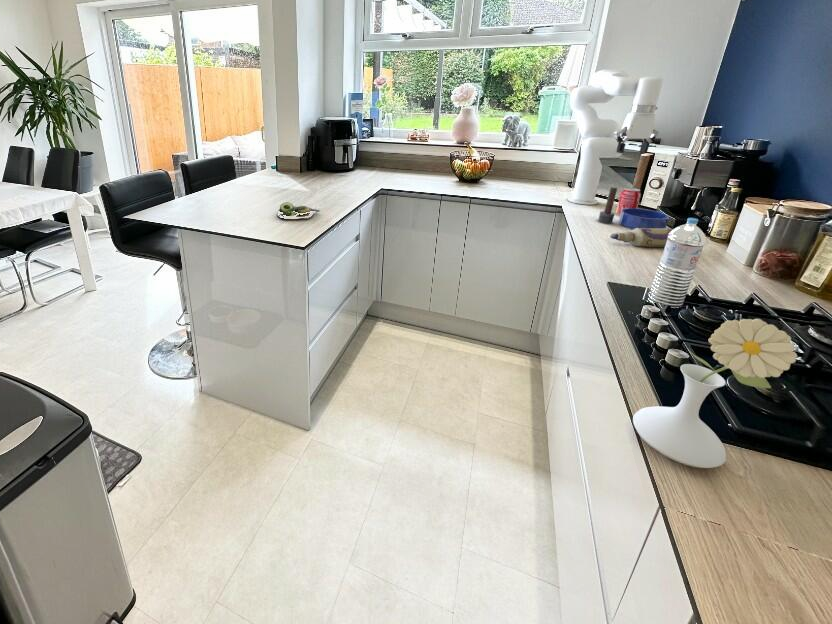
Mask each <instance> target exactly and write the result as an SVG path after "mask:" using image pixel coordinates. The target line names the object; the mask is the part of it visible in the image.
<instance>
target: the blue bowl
mask: <svg viewBox="0 0 832 624" xmlns="http://www.w3.org/2000/svg"><path fill="white" fill-rule="evenodd" d="M669 219H670V217H669V215H668V214H666V213H664V212H660V211H657V210H651V209H645V208H638V207H637V208H627V209H623V210H622V212H621V216H620V215H619V220H618V223H619V224H620V225H621V226H623V227H625V228H627V229H631V230H633V229H635V228H660V229H662V228H663V229H667V225H668V222H669Z"/></svg>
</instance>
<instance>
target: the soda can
mask: <svg viewBox="0 0 832 624" xmlns="http://www.w3.org/2000/svg"><path fill="white" fill-rule="evenodd" d="M641 195H642V193H641V189H639V188H635V187H624V188H623V190H622V191H621V192H620V196H619V199H618V202H617V206H616V212H615V213H616V214H617V215H619V217H620V216H621V212H622V210H623V209H627V208H637V209H638V208H639V204H640V199H641Z"/></svg>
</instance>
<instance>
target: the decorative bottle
mask: <svg viewBox="0 0 832 624" xmlns="http://www.w3.org/2000/svg"><path fill="white" fill-rule="evenodd" d="M673 229H674V228H665V229H663V228H662V229H660V228H635V229H631V231H624V232H616V233H611V234H610V237H609V238H610V239H612V240H615V241H619V242H623V243H629V244H632V245H634V246H635V247H645V248H646V247H648V248H649V247H650V248H653V247H654V248H665V245H666V242H667V237H668V234H669V232H670V231H671V230H673Z"/></svg>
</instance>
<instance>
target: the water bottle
mask: <svg viewBox="0 0 832 624" xmlns="http://www.w3.org/2000/svg"><path fill="white" fill-rule="evenodd" d="M686 220H687V221H686V223H685V224H682V225H679V226H676V227H675V228H672V229H673V230H671V231H670V232H669V234H668V237H667V242H666V245H665V247H663V251H662V254H661V257H660V260H659V261H658V264H657V268H656V271H655V275H654V276H653V279H652V283H651V286H650V289H649V292H648V294H647V297H646V298H647V299H646V301H647V302H649V303H652V304H653V303H660V304H662V305H669V306H670V307H671V308H679V307H681V306H682V307H683V305H684V302H685V299H686V296H687V294H688V292H689V289H690V286H691V283H692V280H693V277H694V275H695V272H696V268H697V266H698V262H699V259H700V257H701V254H702V251H703V248H704V246H705V245H706V242H707V237H706V234H705V233H704V232H703V230H702V229H701V228H700V227H699V226H697V224H698V223H699V219H698V218H694V217H688V218H687V219H686Z"/></svg>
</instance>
